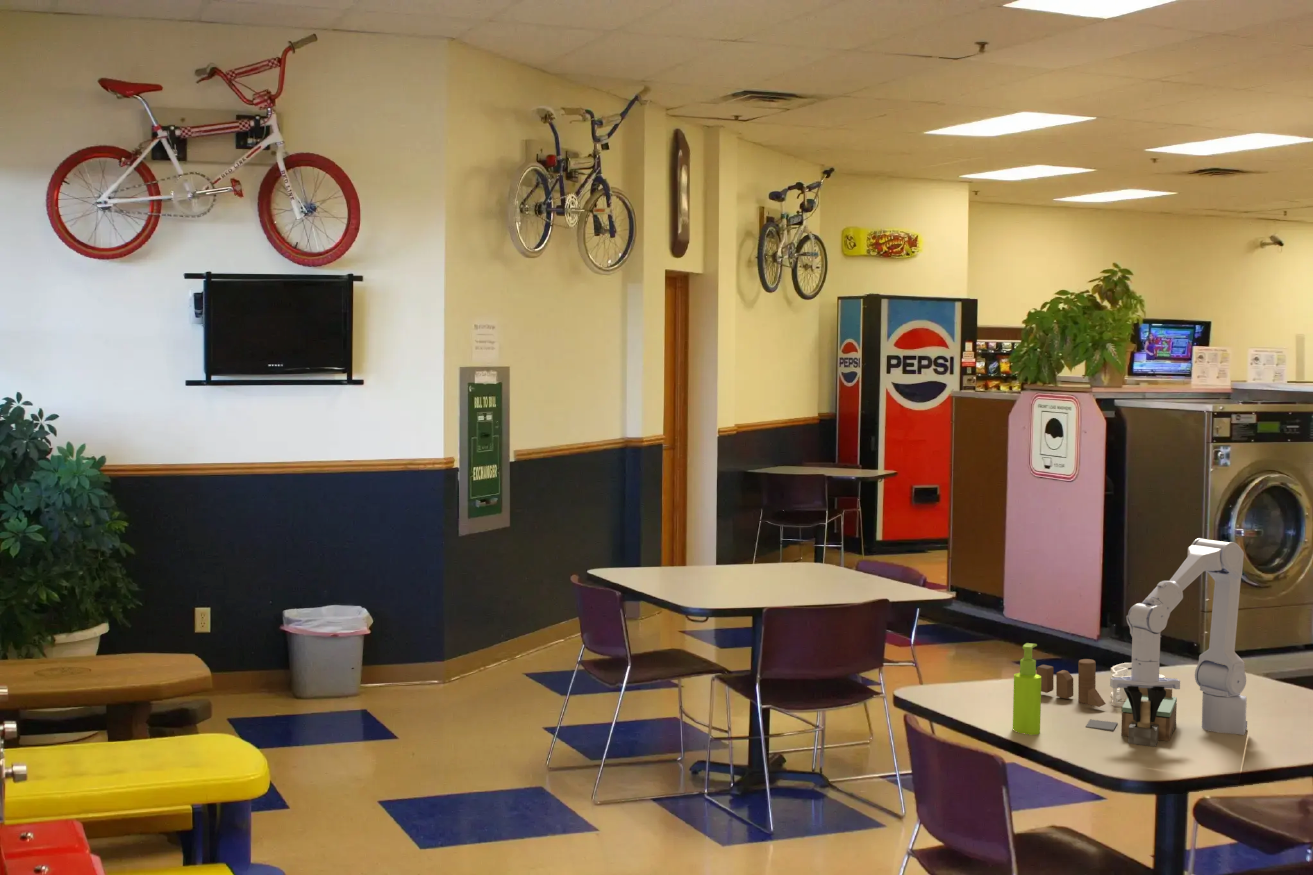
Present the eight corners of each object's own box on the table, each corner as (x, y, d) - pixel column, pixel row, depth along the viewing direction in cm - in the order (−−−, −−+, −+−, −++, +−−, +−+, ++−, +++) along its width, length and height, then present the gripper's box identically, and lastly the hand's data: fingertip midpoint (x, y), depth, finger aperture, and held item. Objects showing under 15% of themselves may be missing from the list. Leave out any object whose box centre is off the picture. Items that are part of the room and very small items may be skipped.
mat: (1117, 724, 303) (1117, 722, 303) (1113, 731, 297) (1113, 729, 297) (1090, 721, 306) (1090, 719, 305) (1085, 727, 299) (1085, 726, 299)
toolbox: (1176, 724, 303) (1176, 702, 303) (1166, 747, 284) (1167, 724, 283) (1130, 718, 308) (1130, 697, 308) (1117, 741, 288) (1118, 719, 288)
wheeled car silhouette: (1134, 710, 316) (1135, 680, 316) (1091, 701, 324) (1092, 672, 324) (1171, 697, 330) (1172, 668, 330) (1129, 689, 338) (1129, 660, 338)
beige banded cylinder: (1150, 741, 289) (1151, 700, 289) (1149, 743, 287) (1150, 702, 286) (1137, 739, 290) (1138, 699, 290) (1136, 742, 288) (1137, 701, 287)
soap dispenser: (1044, 731, 296) (1046, 643, 295) (1036, 738, 290) (1038, 648, 289) (1017, 727, 299) (1020, 640, 298) (1009, 734, 293) (1011, 645, 292)
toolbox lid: (1176, 701, 303) (1177, 688, 303) (1169, 717, 289) (1170, 703, 289) (1130, 696, 308) (1131, 683, 307) (1121, 711, 293) (1122, 698, 293)
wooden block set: (1032, 698, 327) (1032, 658, 326) (1051, 690, 333) (1051, 651, 332) (1099, 714, 314) (1099, 672, 313) (1117, 705, 320) (1117, 664, 318)
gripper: (1172, 655, 291) (1170, 716, 292) (1106, 654, 292) (1104, 715, 292) (1184, 662, 284) (1182, 724, 285) (1116, 661, 285) (1115, 723, 285)
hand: (1143, 720), depth 288 cm, fingers closed on beige banded cylinder, 3 cm apart
